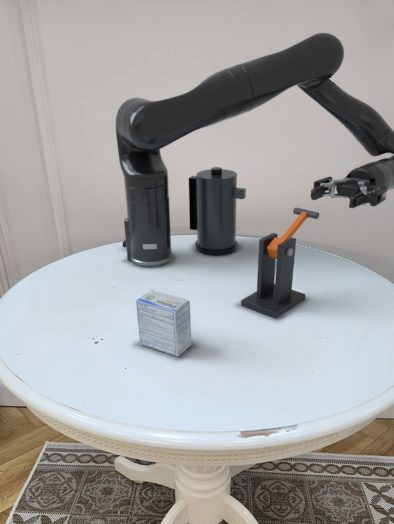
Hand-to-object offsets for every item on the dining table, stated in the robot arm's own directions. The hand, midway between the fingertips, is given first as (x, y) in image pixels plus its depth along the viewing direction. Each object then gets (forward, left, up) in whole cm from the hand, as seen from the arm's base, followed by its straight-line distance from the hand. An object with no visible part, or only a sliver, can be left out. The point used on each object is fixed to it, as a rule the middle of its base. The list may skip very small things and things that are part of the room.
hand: (331, 198), depth 105 cm
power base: (-6, -18, -16) cm, 24 cm away
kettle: (-27, +4, -16) cm, 31 cm away
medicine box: (-18, -40, -16) cm, 46 cm away
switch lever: (-4, -13, -4) cm, 14 cm away
